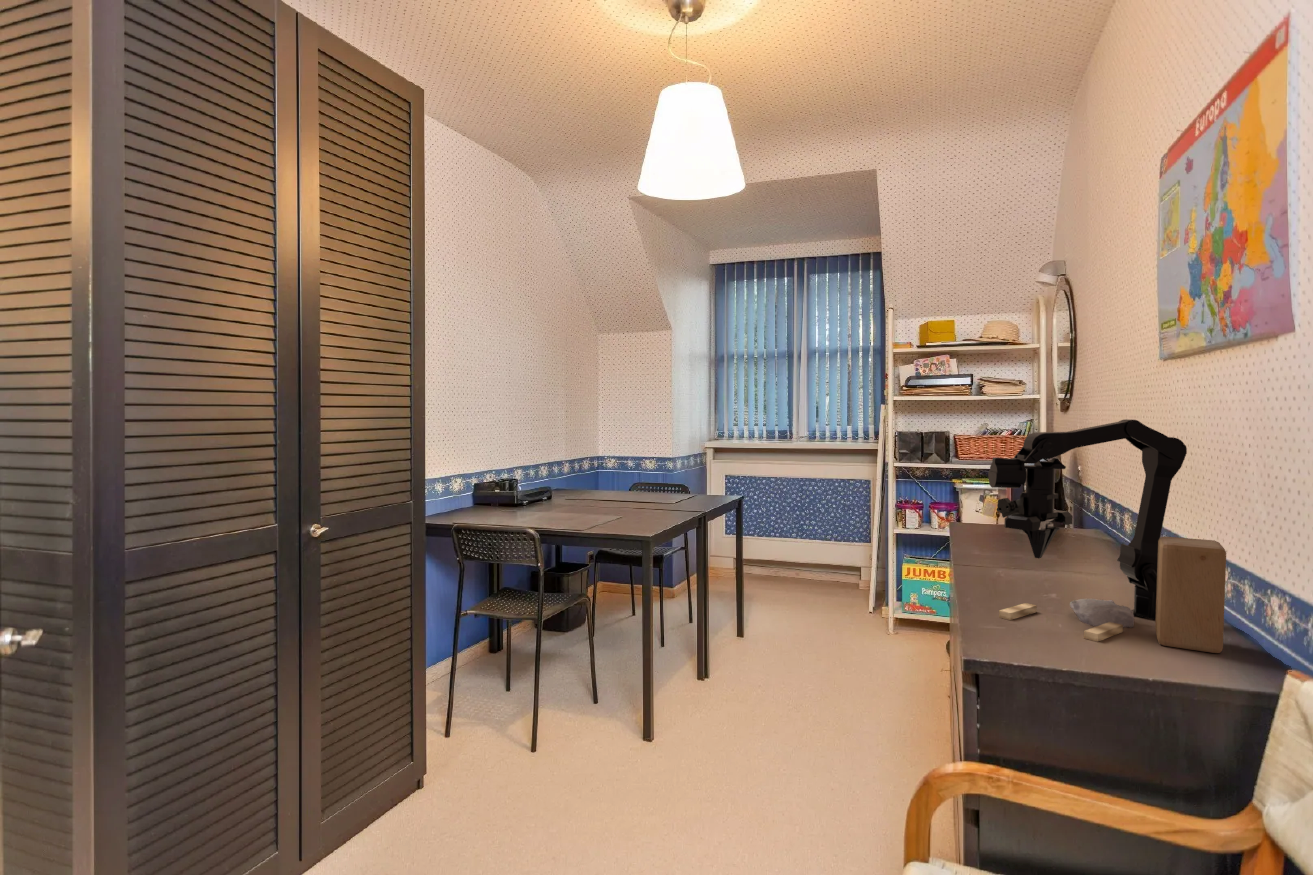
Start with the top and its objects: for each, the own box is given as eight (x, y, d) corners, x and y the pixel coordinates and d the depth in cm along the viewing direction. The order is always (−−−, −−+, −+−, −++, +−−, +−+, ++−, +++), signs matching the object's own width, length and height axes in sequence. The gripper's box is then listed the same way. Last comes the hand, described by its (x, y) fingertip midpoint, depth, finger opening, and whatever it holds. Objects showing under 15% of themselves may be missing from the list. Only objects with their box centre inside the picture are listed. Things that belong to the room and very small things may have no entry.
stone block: (1089, 635, 152) (1140, 628, 151) (1085, 613, 152) (1135, 605, 151) (1064, 621, 164) (1111, 614, 162) (1060, 600, 164) (1107, 593, 162)
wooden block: (1223, 655, 134) (1227, 548, 133) (1157, 646, 139) (1161, 542, 138) (1216, 641, 142) (1220, 540, 142) (1154, 632, 148) (1158, 535, 147)
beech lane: (1025, 609, 164) (1025, 602, 164) (1122, 631, 148) (1122, 624, 148) (998, 617, 158) (999, 610, 158) (1097, 641, 142) (1097, 634, 142)
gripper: (1025, 483, 174) (1024, 547, 175) (982, 487, 163) (980, 556, 164) (1074, 487, 165) (1072, 555, 166) (1032, 492, 154) (1030, 565, 155)
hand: (1037, 557), depth 163 cm, fingers closed
